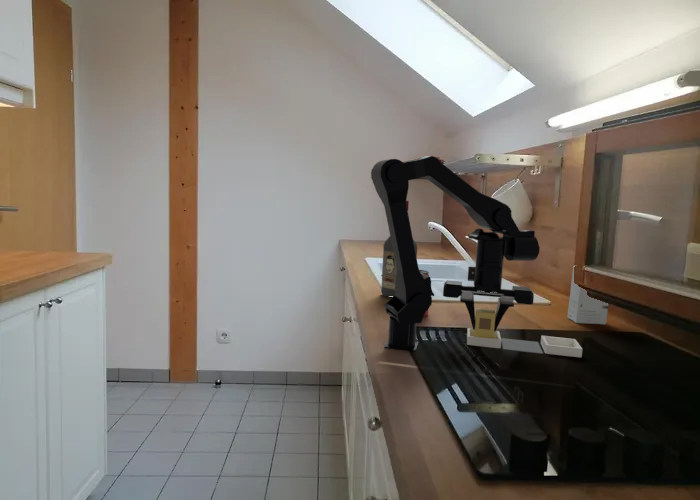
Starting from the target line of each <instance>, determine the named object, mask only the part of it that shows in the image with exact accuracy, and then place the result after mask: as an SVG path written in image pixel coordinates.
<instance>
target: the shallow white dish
mask: <svg viewBox="0 0 700 500" xmlns="http://www.w3.org/2000/svg"><path fill="white" fill-rule="evenodd" d="M501 338H502V337H501V333H500V331H499V330H496V331H495V332H494V339H493V338H483V337H474V330H473V327H467V332H466V345H468V346H475V347H483V348H493V349H501V348H502V342H501Z"/></svg>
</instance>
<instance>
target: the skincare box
mask: <svg viewBox="0 0 700 500" xmlns="http://www.w3.org/2000/svg"><path fill="white" fill-rule="evenodd" d="M575 266H576V265H573V266H572V275H571V283H570V290H569V291H570V293H569V302H568V307H567V308H568V309H567V319H569V320H571V321H572V322H574V323H575V324H585V325H586V324H588V325H606V324H607V318H608V310H609V304H608V303H605V302H602V301H600V300H597V299H594V298H591V297H589V296H588V295H587V291H586V290H585V289H583V288H581V287H579V286H578V285H577V284H575V283H574V267H575Z"/></svg>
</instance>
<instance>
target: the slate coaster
mask: <svg viewBox="0 0 700 500" xmlns="http://www.w3.org/2000/svg"><path fill="white" fill-rule="evenodd" d="M501 347H502V350H504V351H505V350H506V351H513V352H523V353H531V354H540V355H544V351H543V350H542V349H543V348H541V347H542V346H541V344H540V343H539V341H532V340H531V341H530V340H523V339H513V338H504V337H501Z"/></svg>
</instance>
